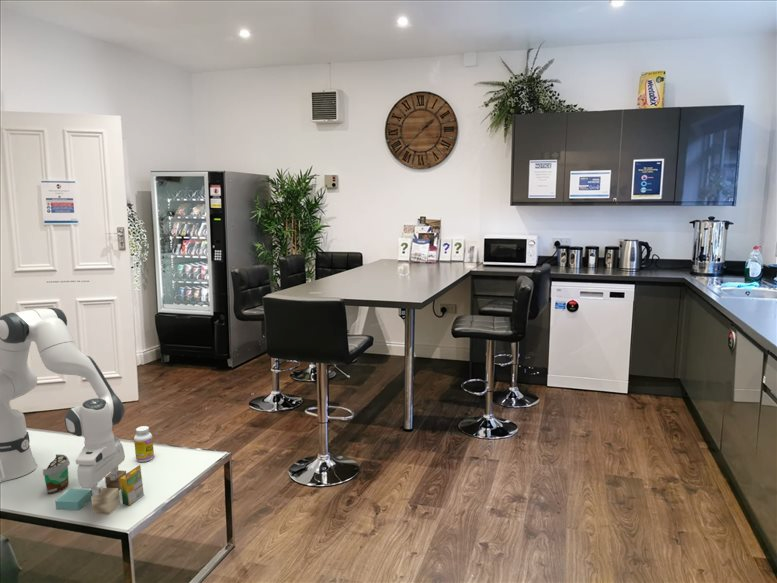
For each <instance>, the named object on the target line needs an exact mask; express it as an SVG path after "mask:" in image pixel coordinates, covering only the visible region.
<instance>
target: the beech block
mask: <svg viewBox="0 0 777 583" xmlns="http://www.w3.org/2000/svg"><path fill="white" fill-rule="evenodd" d="M100 491H101V492H100V493H99V494H98V495H93V496H92V497H91V500H90V501H91V506H92V514H96V515H97V514H101V515H111V514H112V513H113V512H114V511H115V510H116V509H118V507H119V506H120V505H121V498H120V490H119V488H106V487H100Z"/></svg>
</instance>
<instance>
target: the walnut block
mask: <svg viewBox="0 0 777 583" xmlns="http://www.w3.org/2000/svg"><path fill="white" fill-rule="evenodd" d="M125 474H127V470H121V469H120V470H119V469H118V472H117V479H115V480H114V481H113V480H110V475H111V472H110V473H109V474H107V475H106V476H105V477H104V479H105V480H104V481H105V488H119V491H121V487H120V478H121V477H123V476H124V475H125Z"/></svg>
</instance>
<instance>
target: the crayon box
mask: <svg viewBox="0 0 777 583" xmlns="http://www.w3.org/2000/svg"><path fill="white" fill-rule="evenodd" d="M141 468H142V467H141V464H138V465H137V466H136V467H133V469H131V470H130V471H128V472H126V474H125V475H124V476H123V477H121V478H120V487H121V490H120V492H121V502H122V505H124V506H129V507H130V506H132V504H133V503H135V502H136V501H137V500H139V499H140V498H142V497H143V496H145V494H144V493H145V492H144V484H143V477H142V476H143V475H142V469H141Z"/></svg>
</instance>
